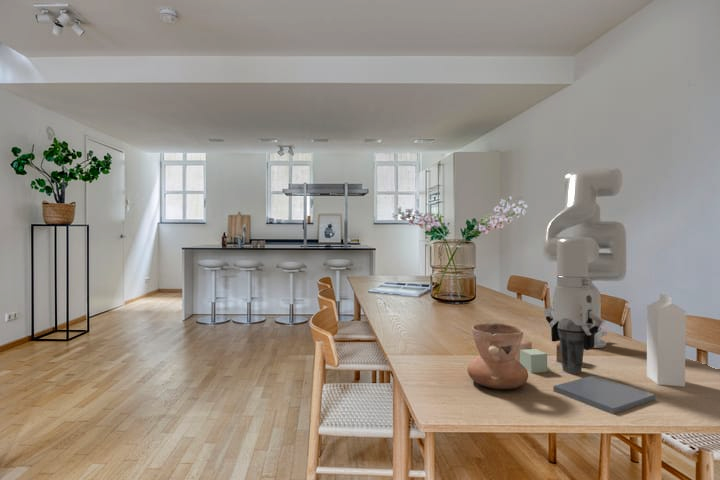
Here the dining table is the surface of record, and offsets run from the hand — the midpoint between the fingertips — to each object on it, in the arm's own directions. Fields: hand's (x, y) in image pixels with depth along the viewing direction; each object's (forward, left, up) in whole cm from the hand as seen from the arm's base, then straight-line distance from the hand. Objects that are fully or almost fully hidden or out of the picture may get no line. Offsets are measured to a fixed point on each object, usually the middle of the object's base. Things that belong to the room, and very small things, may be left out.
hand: (571, 344), depth 109 cm
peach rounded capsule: (+6, -12, -7) cm, 15 cm away
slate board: (+9, +14, -7) cm, 18 cm away
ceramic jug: (+25, -3, -8) cm, 26 cm away
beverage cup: (0, 0, -7) cm, 7 cm away
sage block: (+8, -6, -7) cm, 12 cm away
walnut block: (-7, -6, -7) cm, 12 cm away
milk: (-14, +16, -7) cm, 23 cm away
